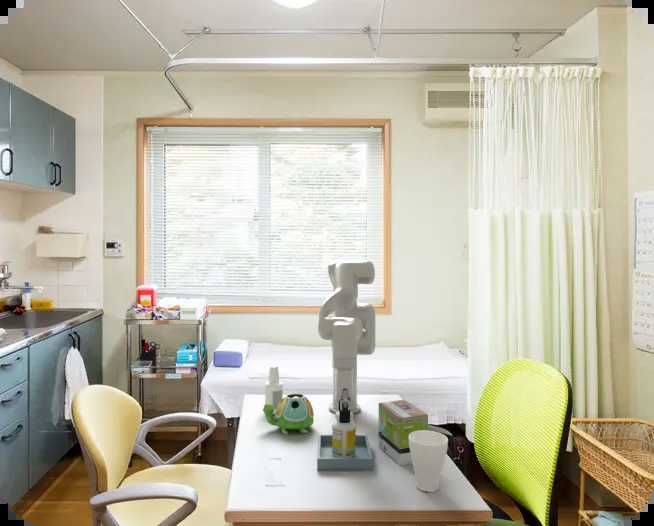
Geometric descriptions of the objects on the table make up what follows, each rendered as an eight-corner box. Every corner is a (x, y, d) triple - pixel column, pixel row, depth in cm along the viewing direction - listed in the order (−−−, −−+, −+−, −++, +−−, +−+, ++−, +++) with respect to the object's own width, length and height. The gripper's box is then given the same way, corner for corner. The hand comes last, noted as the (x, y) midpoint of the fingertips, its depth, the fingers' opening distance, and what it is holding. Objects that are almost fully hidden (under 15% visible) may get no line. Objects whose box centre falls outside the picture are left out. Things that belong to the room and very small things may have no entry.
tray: (318, 445, 158) (318, 434, 158) (367, 445, 158) (367, 434, 158) (317, 470, 140) (317, 458, 140) (372, 471, 140) (372, 459, 140)
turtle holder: (263, 423, 177) (263, 391, 177) (312, 422, 179) (312, 390, 179) (262, 436, 165) (262, 401, 165) (315, 435, 167) (315, 400, 166)
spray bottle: (281, 414, 186) (281, 368, 186) (263, 414, 187) (263, 368, 186) (283, 408, 193) (283, 364, 193) (266, 408, 193) (266, 363, 193)
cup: (454, 493, 128) (455, 443, 127) (418, 499, 125) (419, 447, 124) (435, 475, 138) (435, 428, 137) (401, 480, 135) (401, 432, 134)
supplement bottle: (332, 459, 146) (332, 417, 145) (332, 449, 153) (332, 409, 152) (355, 459, 146) (356, 417, 145) (354, 449, 153) (355, 409, 152)
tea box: (377, 446, 157) (377, 401, 157) (404, 442, 161) (405, 398, 160) (399, 466, 143) (400, 417, 143) (428, 461, 147) (429, 413, 146)
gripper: (332, 354, 157) (331, 406, 158) (332, 370, 140) (332, 427, 141) (355, 354, 157) (354, 406, 158) (358, 370, 140) (358, 428, 141)
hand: (344, 416), depth 149 cm, fingers open, 9 cm apart
